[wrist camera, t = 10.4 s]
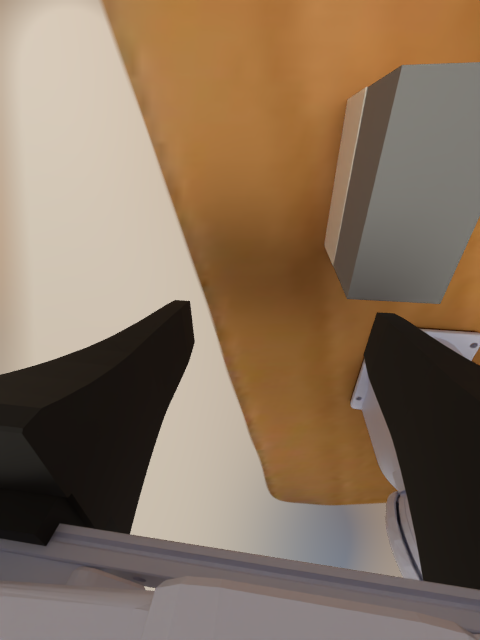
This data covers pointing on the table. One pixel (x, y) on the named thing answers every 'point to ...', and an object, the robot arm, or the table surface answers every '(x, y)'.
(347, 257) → the charcoal brick
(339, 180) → the off-white brick
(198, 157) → the table surface
